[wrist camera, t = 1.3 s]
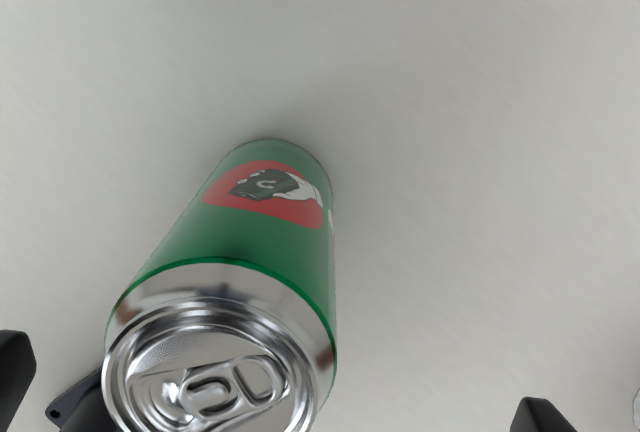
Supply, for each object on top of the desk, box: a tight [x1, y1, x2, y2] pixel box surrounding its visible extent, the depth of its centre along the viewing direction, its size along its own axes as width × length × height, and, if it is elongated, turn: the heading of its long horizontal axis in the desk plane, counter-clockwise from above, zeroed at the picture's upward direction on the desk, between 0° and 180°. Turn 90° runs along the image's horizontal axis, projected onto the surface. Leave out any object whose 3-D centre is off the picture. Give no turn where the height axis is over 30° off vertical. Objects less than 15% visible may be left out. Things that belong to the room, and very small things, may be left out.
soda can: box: [102, 139, 337, 432], centre depth 15 cm, size 5×5×12 cm
